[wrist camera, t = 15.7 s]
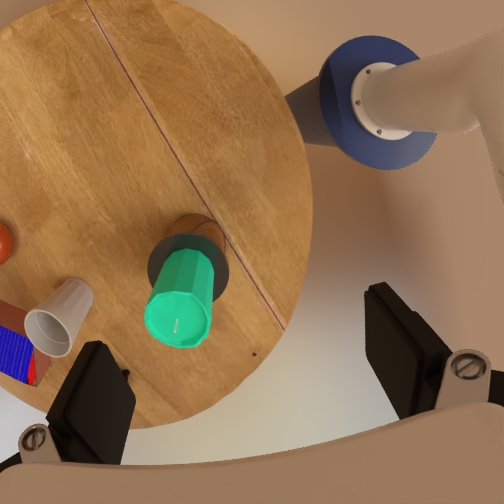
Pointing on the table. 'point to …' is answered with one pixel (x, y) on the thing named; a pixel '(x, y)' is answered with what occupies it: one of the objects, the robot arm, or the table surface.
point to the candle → (182, 300)
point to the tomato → (5, 243)
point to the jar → (193, 248)
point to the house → (19, 348)
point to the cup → (59, 318)
